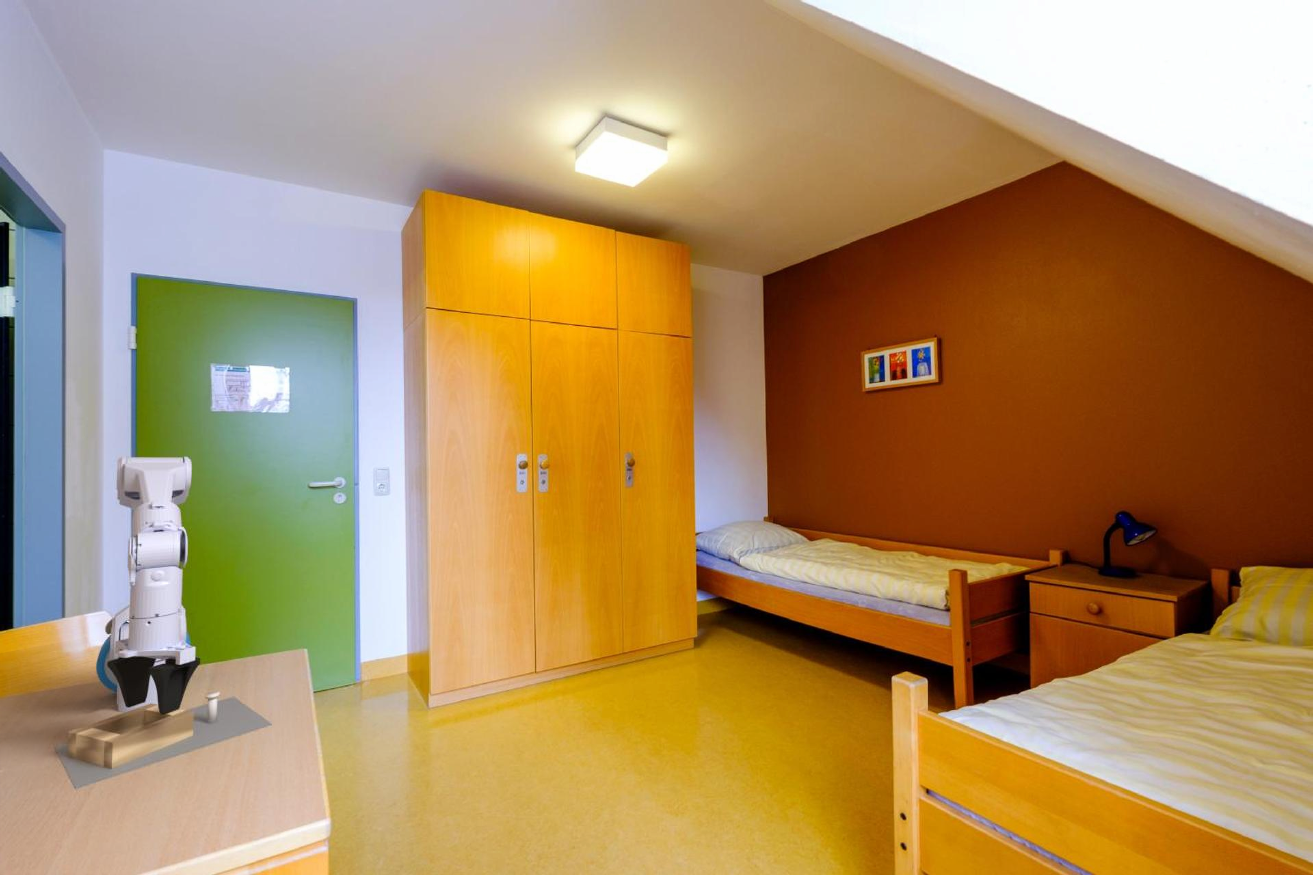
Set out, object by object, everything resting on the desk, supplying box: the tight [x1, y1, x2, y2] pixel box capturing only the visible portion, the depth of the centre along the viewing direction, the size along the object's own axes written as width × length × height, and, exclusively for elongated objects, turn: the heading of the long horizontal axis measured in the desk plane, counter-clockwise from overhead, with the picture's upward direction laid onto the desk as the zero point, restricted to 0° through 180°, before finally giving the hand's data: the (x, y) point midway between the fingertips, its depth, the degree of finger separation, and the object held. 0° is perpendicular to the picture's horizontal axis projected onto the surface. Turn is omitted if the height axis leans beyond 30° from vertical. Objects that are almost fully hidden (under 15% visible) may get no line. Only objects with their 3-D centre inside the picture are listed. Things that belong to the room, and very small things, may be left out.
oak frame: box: [67, 703, 194, 769], centre depth 83 cm, size 10×10×4 cm
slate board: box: [53, 691, 274, 790], centre depth 86 cm, size 18×22×6 cm
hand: (152, 708), depth 82 cm, fingers open, 7 cm apart
